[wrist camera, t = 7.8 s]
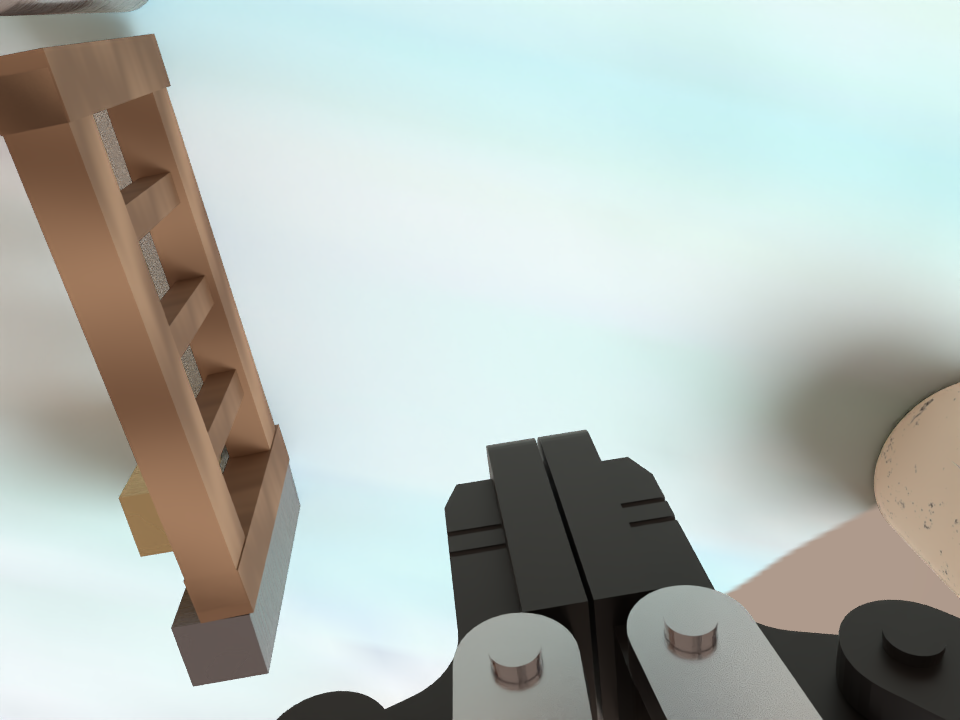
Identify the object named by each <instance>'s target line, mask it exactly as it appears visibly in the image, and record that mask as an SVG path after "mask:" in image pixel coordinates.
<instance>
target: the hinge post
mask: <svg viewBox="0 0 960 720" xmlns="http://www.w3.org/2000/svg"><path fill="white" fill-rule="evenodd" d="M147 1H148V0H0V16H16V15H48V14H80V13H112V12H130V11H134V10H136V9H139V8H140V7H142V6H143V5H144V4H146V3H147Z"/></svg>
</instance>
